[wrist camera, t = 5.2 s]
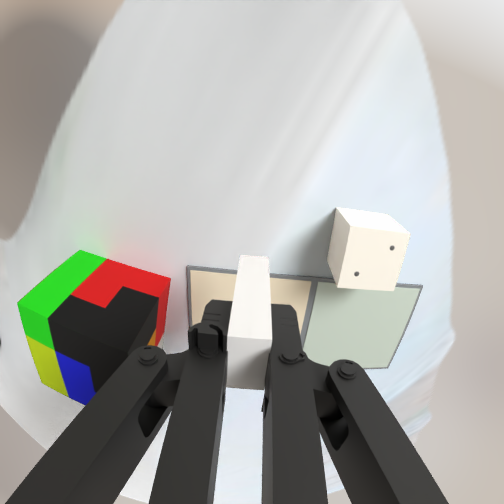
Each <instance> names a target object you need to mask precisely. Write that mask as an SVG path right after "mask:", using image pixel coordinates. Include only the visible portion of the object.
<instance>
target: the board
mask: <svg viewBox="0 0 504 504" xmlns="http://www.w3.org/2000/svg"><path fill="white" fill-rule="evenodd" d="M237 271H238V270H228V269H218V268H208V267H198V266H187V277H188V302H189V321H190V327H192V326H193V325H195V324H197V323H201V320H202V316H203V312H204V309H205V306H206V304H207V303H209V302H210V301H211V300H212V299H214V300H225V301H233V297H234V290H235V284H236V278H237ZM269 275H270V296H271V304H286V305H291V306H292V307H293V308H294V309H295V311H296V312H297V318H298V325H299V331H300V337H301V343H302V349H303V351H304V352H305V353H306V354H307V357H308V358H309V359H310V360H312V361H314V362H316V363H319V364H322V365H326V366H330V365H331V364H332V363H333V362H334V361H337V360H340V359H347V360H351V361H354V362H356V363H358V364H359V365H360V366H361V367H362V368H363V369H382V368H388V367H389V365H390V363H391V361H392V359H393V357H394V355H395V353H396V351H397V349H398V346H399V344H400V342H401V340H402V338H403V335H404V333H405V331H406V328H407V326H408V324H409V321H410V319H411V316H412V314H413V311H414V309H415V306H416V304H417V301H418V298H419V296H420V293H421V290H422V288H423V285H414V284H399V283H396V286H395V289H394V291H380V290H364V289H350V288H337V286H336V283H335V280H334V279H330V278H318V277H306V276H294V275H282V274H271V273H269Z"/></svg>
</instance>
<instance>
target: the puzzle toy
mask: <svg viewBox="0 0 504 504" xmlns="http://www.w3.org/2000/svg"><path fill="white" fill-rule="evenodd" d="M170 281H171V278H168V277H164V276H161V275H158V274H154V273H151V272H148V271H144V270H141V269H138V268H135V267H131V266H128V265H125V264H122V263H119V262H116V261H112V260H109V259H106V258H103V257H100V256H97V255H94V254H91V253H88V252H85V251H82V250H79V251H78V252H76V253H75V254H74V255H73V256H71V257H70V258H69V259H68V260H66V261H65V262H64V263H63V264H61V265H60V266H59V267H58V268H56V269H55V270H54V271H53V272H52V273H50V274H49V275H48V276H47V277H46V278H45V279H43V280H42V281H41V282H40V283H39V284H38V285H36V286H35V287H34V288H33V289H32V290H31V291H30V292H29V293H27V294H26V295H25V296H24V297H23V298H22V299H21V300H20V301H19V302H18V303H17V304H18V308H19V312H20V316H21V320H22V324H23V328H24V331H25V335H26V338H27V341H28V345H29V348H30V351H31V354H32V357H33V360H34V363H35V366H36V368H37V371H38V374H39V376H40V379H41V382H42V383H43V384H45V385H46V386H48V387H50V388H52V389H54V390H56V391H57V392H59V393H61V394H63V395H65V396H67V397H69V398H71V399H73V400H75V401H77V402H80V403H82V404H84V405H86V404H87V403H88V402H89V401H90V400H91V399H92V398H93V396H94V395H95V394H96V393H97V392H98V391H99V389H100V388H101V387H102V386H103V385H104V384H105V382H106V381H107V380H108V379H109V378H110V377H111V376H112V374H113V373H114V372H115V371H116V370H117V369H118V368H119V366H120V365H121V364H122V363H123V362H124V361H125V360H126V359H127V357H128V356H129V355H130V354H131V353H132V352H133V351H134V350H135V349H137V348H139V347H141V346H146V345H153V346H157V347H159V348H161V349H162V347H163V337H164V328H165V319H166V311H167V303H168V295H169V288H170Z"/></svg>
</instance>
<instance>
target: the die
mask: <svg viewBox="0 0 504 504" xmlns="http://www.w3.org/2000/svg"><path fill="white" fill-rule="evenodd" d="M409 238H410V233H409V232H408V231H407V230H406V229H405V228H403V227H402V226H401V225H400V224H399V223H398V222H396V221H395V220H394V219H393V218H392V217H390V216H389V215H388V214H382V213H375V212H368V211H361V210H353V209H346V208H338V207H336V212H335V218H334V224H333V229H332V235H331V240H330V246H329V251H328V256H327V262H328V265H329V267H330V270H331V272H332V275H333V278H334V280H335V283H336V286H337V288H350V289H364V290H380V291H394V289H395V286H396V283H397V280H398V277H399V274H400V270H401V267H402V264H403V260H404V257H405V253H406V249H407V246H408V242H409Z"/></svg>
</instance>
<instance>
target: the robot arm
mask: <svg viewBox="0 0 504 504" xmlns="http://www.w3.org/2000/svg"><path fill="white" fill-rule="evenodd" d="M188 342H189V349H188V350H187V351H184V352H182V353H177V354H167V355H166V353H165V352H164V350H163V349H161V348H159V347H157V346H153V345H146V346H141V347H139V348H137V349H135V350H134V351H133V352H132V353H131V354H130V355H129V356H128V357H127V359H126V360H125V361H124V362H123V363H122V364H121V365H120V366H119V368H118V369H117V370H116V371H115V372H114V373H113V374H112V376H111V377H110V378H109V379H108V380H107V381H106V382H105V384H104V385H103V386H102V387H101V388H100V389H99V391H98V392H97V393H96V394H95V395H94V396H93V398H92V399H91V400H90V401H89V402H88V403H87V404H86V406H85V407H84V408H83V409H82V410H81V412H80V413H79V414H78V415H77V416H76V417H75V419H74V420H73V421H72V422H71V423H70V424H69V426H68V427H67V428H66V429H65V430H64V432H63V433H62V434H61V435H60V436H59V438H58V439H57V440H56V441H55V442H54V444H53V445H52V446H51V447H50V448H49V450H48V451H47V452H46V453H45V455H44V456H43V457H42V458H41V459H40V461H39V462H38V463H37V464H36V465H35V467H34V468H33V469H32V470H31V472H30V473H29V474H28V475H27V477H26V478H25V479H24V480H23V482H22V483H21V484H20V485H19V487H18V488H17V489H16V490H15V492H14V493H13V494H12V496H11V497H10V498H9V499H8V501H7V502H6V503H5V504H113V503H114V501H115V500H116V498H117V497H118V495H119V494H120V492H121V490H122V489H123V487H124V486H125V484H126V483H127V481H128V479H129V478H130V476H131V475H132V473H133V472H134V470H135V468H136V467H137V465H138V464H139V462H140V460H141V459H142V457H143V456H144V454H145V452H146V451H147V449H148V448H149V446H150V444H151V443H152V441H153V440H154V438H155V436H156V435H157V433H158V432H159V430H160V428H161V427H162V425H163V424H164V422H165V420H166V419H167V417H168V416H169V414H170V412H171V411H172V412H171V416H170V419H169V423H168V427H167V431H166V435H165V439H164V442H163V446H162V450H161V454H160V458H159V462H158V466H157V470H156V475H155V479H154V483H153V487H152V491H151V496H150V500H149V504H213V500H214V491H215V482H216V473H217V464H218V456H219V447H220V438H221V430H222V421H223V413H224V405H225V390H226V387H229V388H241V389H255V390H264V387H265V394H264V399H263V405H262V410H261V412H263V456H262V504H328V499H327V489H326V481H325V472H324V464H323V456H322V448H321V440H320V434H321V436H322V439H323V441H324V443H325V445H326V448H327V450H328V452H329V454H330V457H331V459H332V461H333V463H334V466H335V468H336V470H337V472H338V474H339V477H340V479H341V481H342V483H343V485H344V488H345V490H346V492H347V494H348V497H349V499H350V501H351V503H352V504H449V503H448V502H447V500H446V498H445V497H444V495H443V494H442V492H441V490H440V488H439V487H438V485H437V483H436V482H435V480H434V479H433V477H432V475H431V474H430V472H429V470H428V469H427V467H426V465H425V464H424V462H423V461H422V459H421V457H420V456H419V454H418V453H417V451H416V449H415V448H414V446H413V445H412V443H411V441H410V440H409V438H408V437H407V435H406V434H405V432H404V430H403V429H402V427H401V426H400V424H399V423H398V421H397V419H396V418H395V416H394V415H393V413H392V412H391V410H390V409H389V407H388V406H387V404H386V403H385V401H384V399H383V398H382V396H381V395H380V393H379V392H378V390H377V389H376V387H375V386H374V384H373V383H372V381H371V380H370V378H369V377H368V375H367V374H366V372H365V371H364V369H363V368H362V367H361V366H360V365H359V364H358V363H356V362H354V361H351V360H347V359H340V360H337V361H334V362H333V363H332V364H331V365H330V366H326V365H322V364H319V363H316V362H314V361H312V360H310V359H309V358H308V357H307V354H306V353H305V352H304V351H303V349H302V343H301V337H300V331H299V325H298V318H297V312H296V311H295V309H294V308H293V307H292V306H291V305H286V304H271V296H270V275H269V257H262V256H249V255H240V259H239V265H238V271H237V278H236V284H235V290H234V297H233V301H225V300H214V299H212V300H211V301H210V302H209V303H207V304H206V306H205V309H204V312H203V316H202V320H201V323H197V324H195V325H193V326H192V327H190V329H189V330H188ZM319 432H320V433H319Z"/></svg>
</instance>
